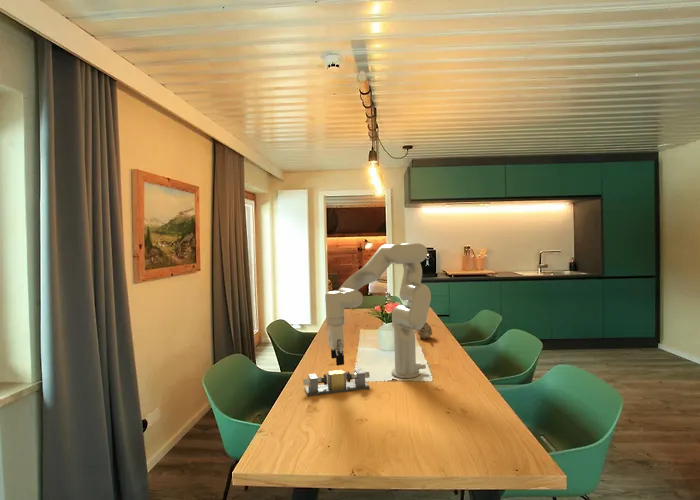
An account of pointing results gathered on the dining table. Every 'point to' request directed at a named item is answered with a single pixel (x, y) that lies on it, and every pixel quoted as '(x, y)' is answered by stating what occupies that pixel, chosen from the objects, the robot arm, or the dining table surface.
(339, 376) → the two-tone brushed block
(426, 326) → the pine cone
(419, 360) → the dining table surface
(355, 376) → the shaft stand
